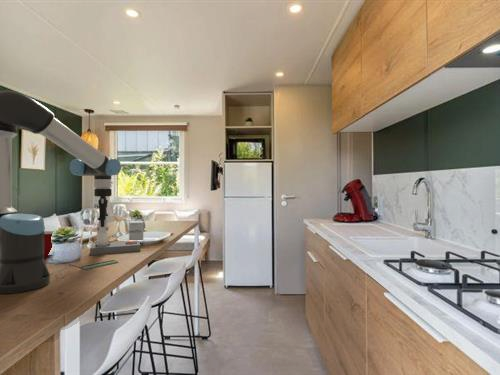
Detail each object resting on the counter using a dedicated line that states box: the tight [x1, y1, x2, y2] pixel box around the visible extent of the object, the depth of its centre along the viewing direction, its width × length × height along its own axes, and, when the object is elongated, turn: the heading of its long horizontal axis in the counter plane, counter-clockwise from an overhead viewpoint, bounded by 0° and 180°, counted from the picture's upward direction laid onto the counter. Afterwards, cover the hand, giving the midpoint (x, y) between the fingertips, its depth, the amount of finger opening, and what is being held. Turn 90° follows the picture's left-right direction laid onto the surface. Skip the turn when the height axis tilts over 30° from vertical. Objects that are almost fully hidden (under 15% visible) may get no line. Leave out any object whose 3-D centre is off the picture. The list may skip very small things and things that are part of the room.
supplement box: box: [128, 220, 145, 241], centre depth 169 cm, size 7×7×13 cm
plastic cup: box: [44, 230, 55, 260], centre depth 136 cm, size 11×11×12 cm
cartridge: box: [96, 225, 109, 247], centre depth 144 cm, size 5×5×12 cm
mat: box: [69, 259, 119, 271], centre depth 126 cm, size 14×14×1 cm
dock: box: [89, 240, 141, 256], centre depth 147 cm, size 22×12×4 cm, turn 114°
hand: (103, 231), depth 144 cm, fingers open, 13 cm apart
